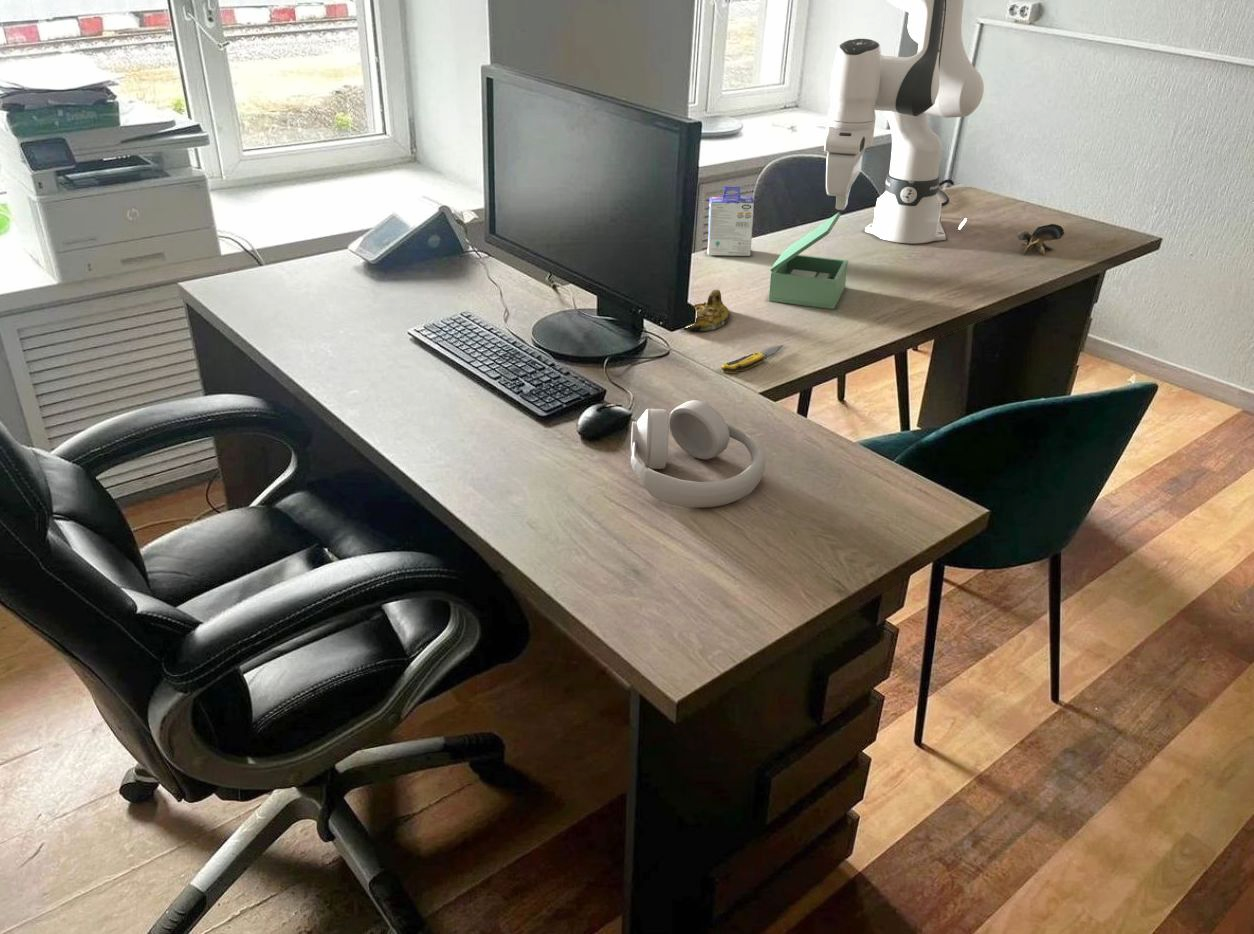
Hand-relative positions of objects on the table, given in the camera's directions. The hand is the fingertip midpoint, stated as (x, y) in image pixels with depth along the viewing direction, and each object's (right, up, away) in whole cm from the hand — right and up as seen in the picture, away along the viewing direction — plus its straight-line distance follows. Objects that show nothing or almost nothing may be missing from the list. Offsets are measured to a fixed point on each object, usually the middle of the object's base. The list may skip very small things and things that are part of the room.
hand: (841, 208), depth 194 cm
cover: (-6, -6, +6) cm, 10 cm away
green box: (-5, -15, +10) cm, 19 cm away
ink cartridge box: (-18, -2, +34) cm, 38 cm away
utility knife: (-19, -32, -19) cm, 41 cm away
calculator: (-5, -14, +10) cm, 18 cm away
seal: (-27, -22, -2) cm, 35 cm away
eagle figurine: (+53, -1, +36) cm, 63 cm away
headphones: (-32, -51, -53) cm, 81 cm away
